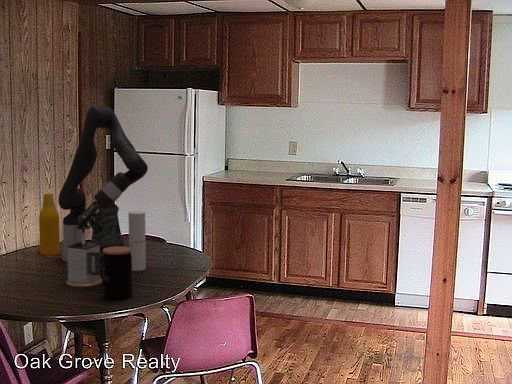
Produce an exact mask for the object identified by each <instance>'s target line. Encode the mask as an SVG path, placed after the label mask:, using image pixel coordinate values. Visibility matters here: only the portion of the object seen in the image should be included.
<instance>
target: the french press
mask: <svg viewBox="0 0 512 384" xmlns="http://www.w3.org/2000/svg"><path fill="white" fill-rule="evenodd" d="M100 254H101V252H100V244H96V243H90V242H86V241H85V246H82V242H80V243H76V244H73V245H69V246H67V255H68V262H67V280H66V285H67V286H68V287H73V288H89V287H90V288H91V287H96V286H98V285H100V284H102V283H103V277H101V270H100Z"/></svg>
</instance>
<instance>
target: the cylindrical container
mask: <svg viewBox="0 0 512 384" xmlns="http://www.w3.org/2000/svg"><path fill="white" fill-rule="evenodd" d="M146 243H147V242H146V212H145V211H140V210H139V211H136V210H135V211H129V212H128V247H129V248H131V249H132V251H131V253H130V254H131V256H132V272H133V271H134V272H135V271H137V272H139V271H145V270H146V269H147V268H146V267H147V262H146V259H147V258H146V257H147V256H146V249H147V248H146V247H147V246H146Z"/></svg>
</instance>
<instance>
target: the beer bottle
mask: <svg viewBox="0 0 512 384" xmlns="http://www.w3.org/2000/svg"><path fill="white" fill-rule="evenodd" d="M42 200H43V201H42V202H43V203H42V208H41V210H40V212H39V216H38V223H39V226H38V227H39V231H38V232H39V254H40V255H41V256H44V255H45V257H52V256H57V255H60V253H61V240H60V239H61V237H60V214H59V212H58V210H57V207H56V206H55V197H54V193H50V192H48V193H47V192H46V193H43V199H42Z"/></svg>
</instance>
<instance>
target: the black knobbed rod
mask: <svg viewBox="0 0 512 384" xmlns="http://www.w3.org/2000/svg"><path fill="white" fill-rule="evenodd" d="M85 216H86V215H79V223H80V222H81V221H82V220H83V219H84V217H85ZM76 229H81V228H79V227H78V226H76ZM88 229H91V226H90V225H89V222H88V223H87V224H86V225H85V226H84V227H83V228H82V246H85V242H86V230H88Z"/></svg>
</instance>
